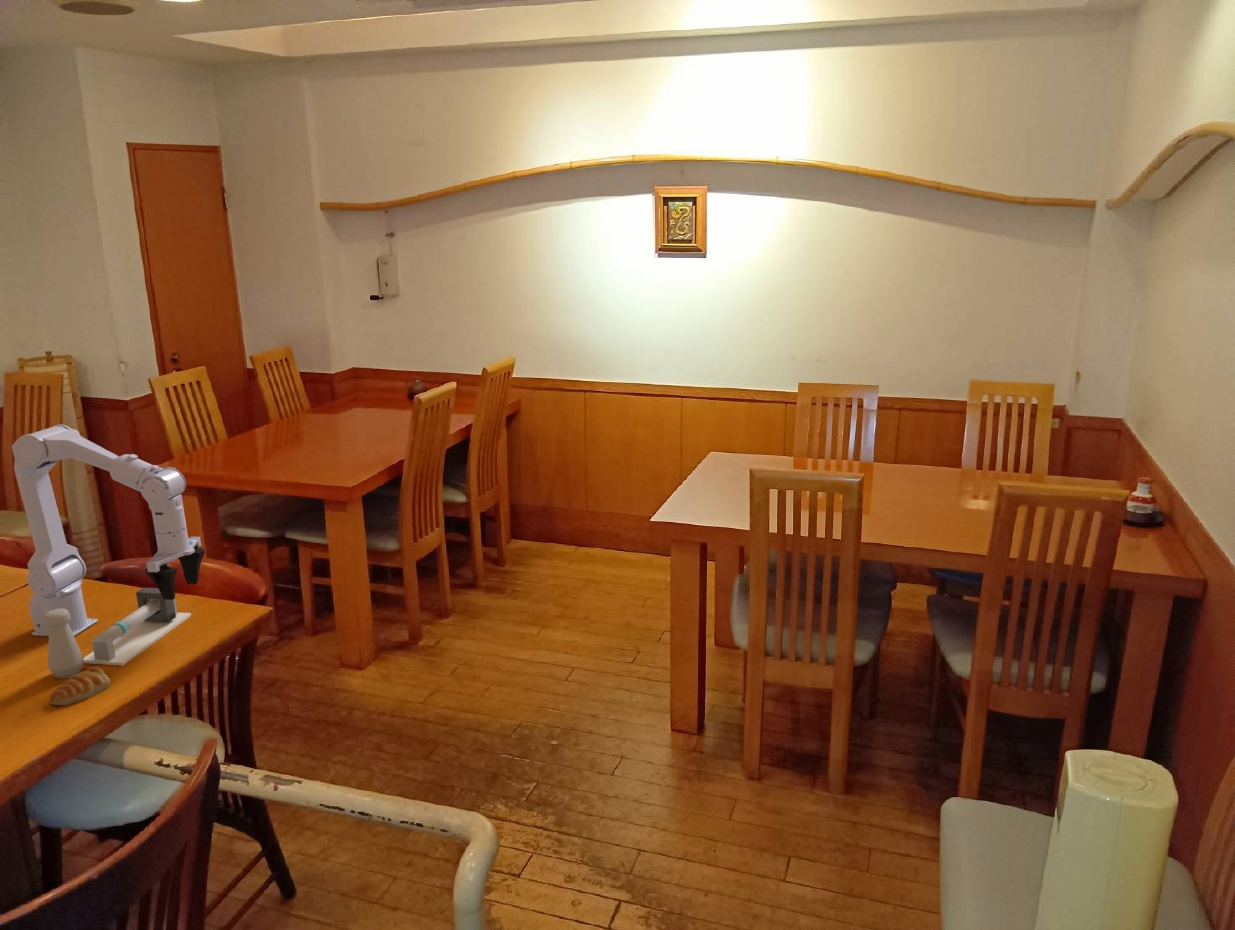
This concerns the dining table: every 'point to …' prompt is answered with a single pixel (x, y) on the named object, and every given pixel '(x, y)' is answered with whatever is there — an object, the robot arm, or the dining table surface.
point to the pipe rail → (131, 635)
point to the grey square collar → (166, 606)
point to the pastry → (80, 686)
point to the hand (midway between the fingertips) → (181, 591)
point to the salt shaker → (62, 645)
